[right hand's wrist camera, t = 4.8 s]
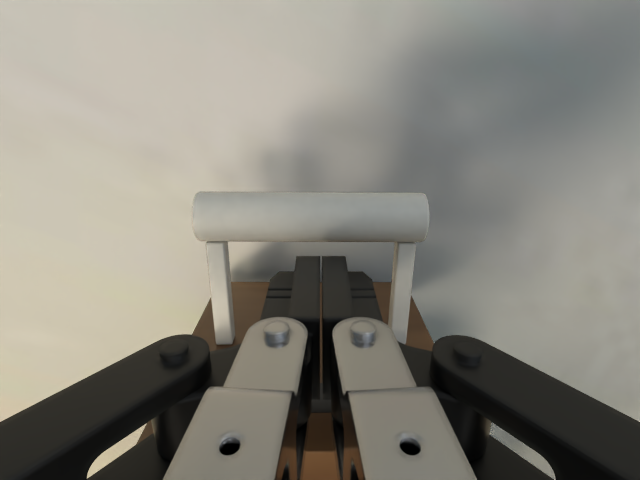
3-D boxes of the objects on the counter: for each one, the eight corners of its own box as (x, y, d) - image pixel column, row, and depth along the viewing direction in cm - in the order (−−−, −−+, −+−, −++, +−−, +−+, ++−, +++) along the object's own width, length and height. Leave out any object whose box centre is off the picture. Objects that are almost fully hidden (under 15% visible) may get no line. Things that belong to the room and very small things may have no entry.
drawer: (207, 165, 16) (85, 248, 8) (416, 166, 17) (528, 250, 8) (235, 463, 23) (186, 696, 14) (387, 462, 23) (433, 693, 14)
